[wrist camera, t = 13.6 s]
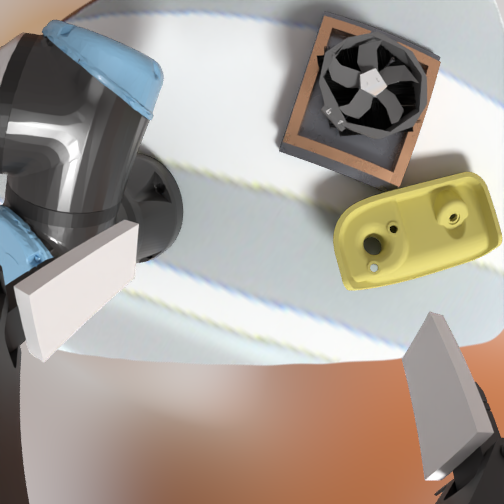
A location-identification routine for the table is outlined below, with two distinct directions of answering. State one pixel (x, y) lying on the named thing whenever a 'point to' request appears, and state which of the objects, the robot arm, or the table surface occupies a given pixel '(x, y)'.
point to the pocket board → (328, 139)
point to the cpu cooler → (371, 86)
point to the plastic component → (416, 231)
